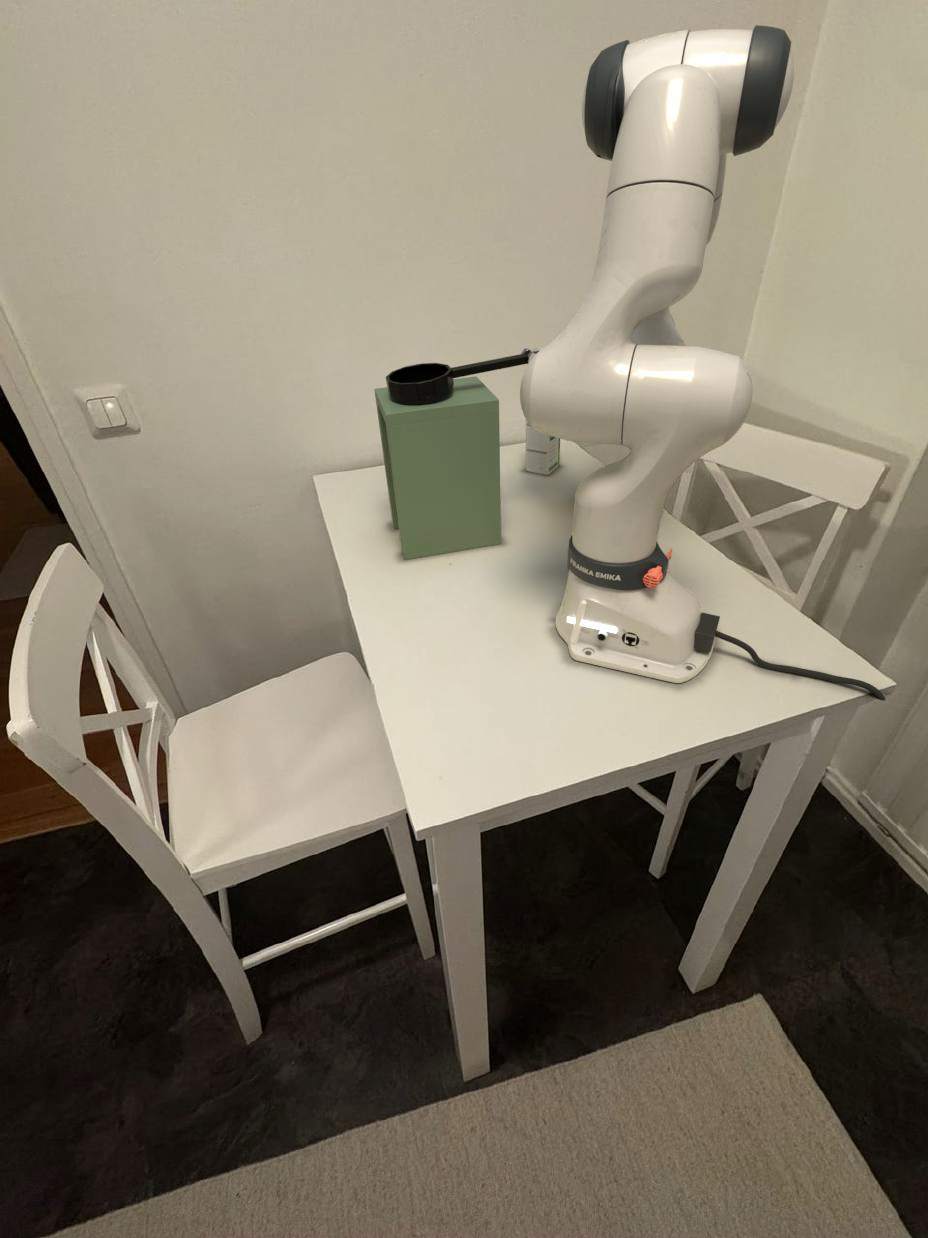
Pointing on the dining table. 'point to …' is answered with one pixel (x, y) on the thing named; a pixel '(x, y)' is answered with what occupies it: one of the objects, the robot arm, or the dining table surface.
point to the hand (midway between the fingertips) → (525, 354)
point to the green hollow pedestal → (443, 469)
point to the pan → (438, 378)
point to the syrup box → (541, 452)
